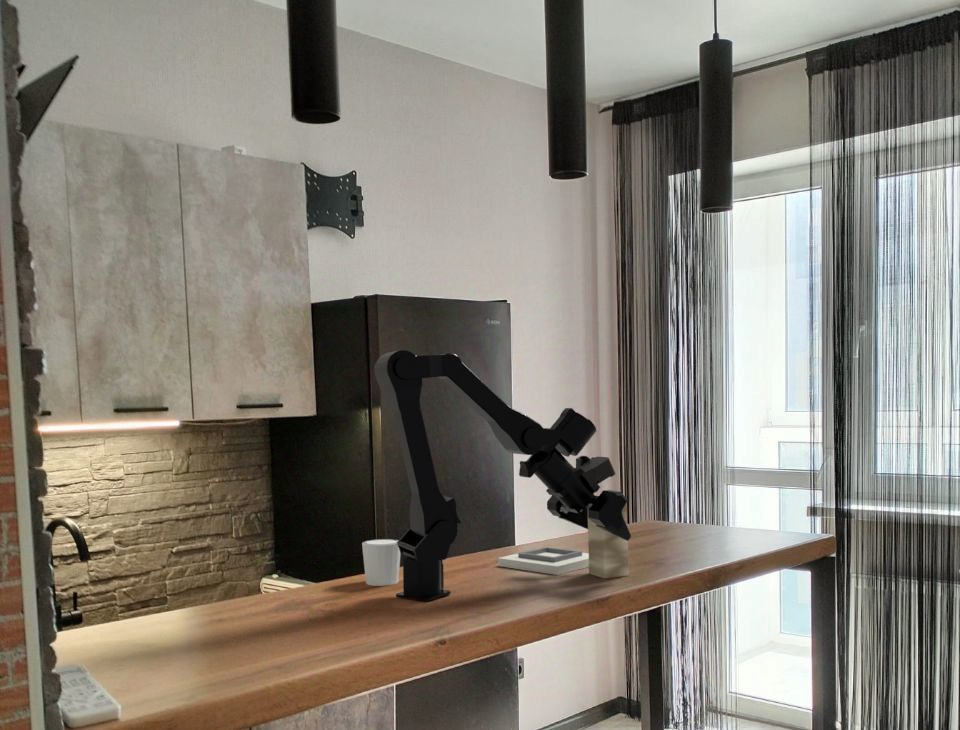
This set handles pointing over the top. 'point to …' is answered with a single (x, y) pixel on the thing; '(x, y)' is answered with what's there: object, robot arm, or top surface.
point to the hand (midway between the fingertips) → (614, 535)
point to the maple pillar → (607, 551)
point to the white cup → (381, 562)
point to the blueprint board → (547, 560)
